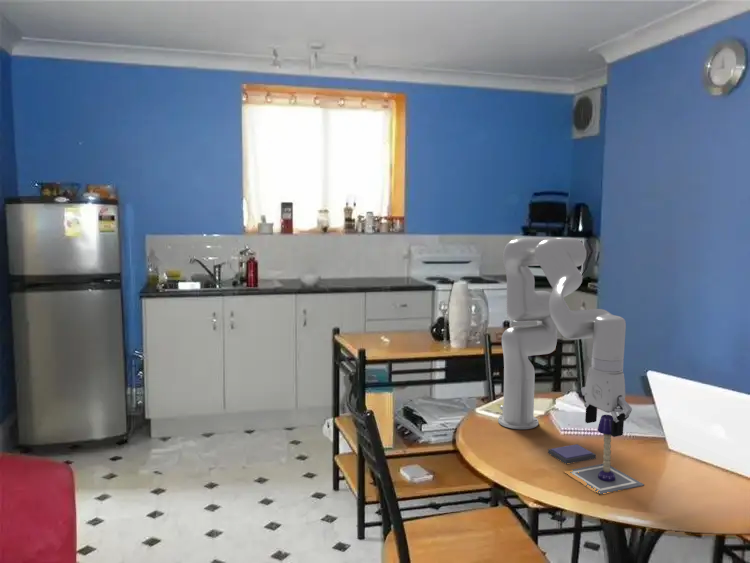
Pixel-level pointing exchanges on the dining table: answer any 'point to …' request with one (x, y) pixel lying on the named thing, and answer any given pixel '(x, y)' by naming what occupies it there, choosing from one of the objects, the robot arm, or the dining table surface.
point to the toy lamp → (606, 447)
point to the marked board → (592, 480)
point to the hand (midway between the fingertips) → (603, 428)
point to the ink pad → (572, 454)
